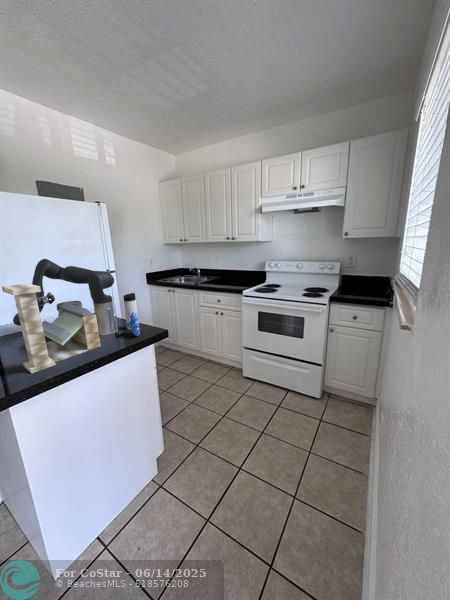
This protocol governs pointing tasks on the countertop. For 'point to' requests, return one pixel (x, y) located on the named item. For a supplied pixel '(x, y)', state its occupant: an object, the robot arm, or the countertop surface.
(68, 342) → the trapdoor frame
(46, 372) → the countertop surface
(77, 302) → the grey rounded piece
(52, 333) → the slate block
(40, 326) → the tall stand
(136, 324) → the grapes
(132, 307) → the travel mug
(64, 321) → the trapdoor
